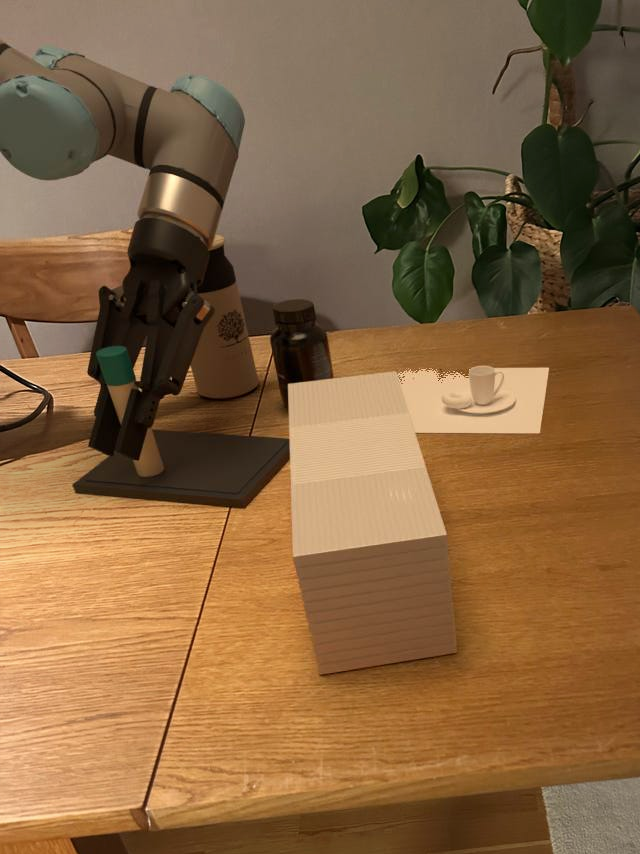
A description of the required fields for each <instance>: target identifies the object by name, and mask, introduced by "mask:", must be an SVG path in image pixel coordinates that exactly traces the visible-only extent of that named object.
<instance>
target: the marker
mask: <svg viewBox="0 0 640 854" xmlns="http://www.w3.org/2000/svg"><path fill="white" fill-rule="evenodd" d="M96 356H97V359H98V362H99V364H100V367H101V370H102V373H103V376H104V379H105V382H106V384H107V386H108V389H109V392H110V395H111V398H112V401H113V404H114V407H115V410H116V413H117V415H118V418H119V421H120V424H122V420H123V417H124V413H125V409H126V406H127V402H128V399H129V395H130V391H131V389H137V390H139V391H141V389H140V388H138V387H137V386H135V384H134V381H137V376H136V373H135V371H134V368H133V367H132V364H131V360H130V357H129V354H128V351H127V348H126V347H124V346H111V347H106V348H103V349H101V350H99V351H97V353H96ZM152 429H153V428H152V427H151V428H148V430H147V433H146V437H145V440H144V444H143V448H142V451H141V455H140V458H139V461H137V460H133V462H134V465H135V468H136V471H137V474H138V475H139V476H142V477H150V476H154V475H157V474H159V473H161V472H162V471H163V470H164V466H163V463H162V460H161V456H160V453H159V450H158V447H157V444H156V441H155V438H154V434H153V431H152Z"/></svg>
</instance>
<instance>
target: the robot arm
mask: <svg viewBox="0 0 640 854" xmlns="http://www.w3.org/2000/svg"><path fill="white" fill-rule="evenodd" d="M245 124H246V118H245V114H244V110H243V108H242V106H241V104H240V102H239V100H238V99H237V98H236V97H235V96H234V95H233V93H232V92H231V91H229V90H228V89H227V88H226V87H225V86H223V85H222V84H221V83H219V82H217V81H215V80H213V79H211V78H209V77H207V76H203V75H198V76H195V75H193V74H183V75H181V76H180V77H177V79H176V80H175V82H174V84H173V86H172V87H171V88H170V90H169V91H167V90H165V89H163V88H161V87H156V86H154V85H149V84H147V83H145V82H143V81H140V80H138V79H135V78H133V77H131V76H129V75H126V74H124V73H121V72H120V71H117V70H115V69H112V68H110V67H108V66H105V65H103V64H101V63H98V62H96V61H94V60H91V59H89V58H88V57H87V58H86V56H85V55H84V54H81V53H79V52H71V51H68V50H66V49H62V48H60V47H57V46H54V45H50V44H46V45H42V46H39V47H38V48H37V49H36V52H35V54H34V55H33V56H32V58H31V57H30V56H28V55H26V54H25V53H23V52H21V51H19V50H17V49H16V48H14V47H12V46H11V45H9V44H8V43H7V42H5V41H4V40H2V39H0V153H1V155H2V156H3V157H4V159H5V160H6V161H7V162H8V163H9V164H10V165H11V166H12V167H14V169H16V170H17V171H18V172H21V173H22V174H24V175H26V176H27V177H31V178H33V179H36V180H40V181H57V180H58V181H59V180H62V179H67V178H69V177H74V176H77V175H79V174H82V173H83V172H84V171H85V170H87V169H89V168H90V166H91V165H92V164H94V163H95V162H97V161H100V160H101V159H103V158H105V157H107V156H111V157H113V158H115V159H119V160H121V161H124V162H127V163H129V164H132V165H135V166H137V167H139V168H142V169H145V170H149V173H148V176H147V180H146V184H145V186H144V189H143V193H142V196H141V199H140V202H139V207H138V209H137V217H138V220H136V221H135V223H134V225H133V229H132V232H131V236H130V240H129V243H128V246H127V257H128V260H129V265H130V266H129V270H128V272H127V274H126V275H125V277H123V280H122V282H121V283H122V284H121V285H119V286H116V287H115V288H112V289H110V288H109V287H108V286H106V285H102V286H101V287H100V288H99V289H98V299H99V300H98V302H99V310H98V314H97V315H98V316H97V319H96V320H97V321H96V326H95V331H94V336H93V341H92V346H91V351H90V356H89V361H88V365H87V372H86V373H87V376H89V377H90V378H91V379H93V380H95V381H96V382H98V383H99V385H100V386H99V387H100V388H99V391H98V395H97V398H96V402H95V406H94V409H93V416H94V417H95V419H94V423H93V426H92V430H91V433H90V437H89V441H88V444H87V447H88V448H90V449H93V450H94V451H97V452H99V453H101V454H104V455H106V456H107V457H108V456H113V454H114V452H115V451H116V452H118V453H120V454H122V455H124V456H126V457H128V458H130V459H132V460H137V461H139V458H140V455H141V451H142V448H143V444H144V440H145V437H146V433H147V430H148V428H152V427H153V425H154V424H155V419H156V417H157V414H158V413H157V412H158V410H159V405H160V402H161V400H163V399H164V398H165V397H166V396H169V395H173V396H178V395H179V394H180V393H181V392H182V390H183V387H184V384H185V381H186V379H187V375H188V373H189V370H190V368H191V366H190V365H191V362H192V359H193V356H194V354H195V351H196V348H197V346H198V343H199V340H200V337H201V335H202V332H203V329H204V327H205V326H206V324H207V323H208V322H209V320H210V319H211V317H212V316H213V315H214V313H215V308H214V307H213V306H212V305H210V304H209V303H208V302H207V301H206V300H204V299H203V298H202V297H201V296H200V295H198V294H197V287H199V286H200V285H201V284H202V282H203V279H204V275H205V272H206V268H207V265H208V261H209V257H210V253H209V251H208V249H210V248H211V247H212V244H213V241H214V237H215V235H217V230H218V227H219V223H220V219H221V217H222V212H223V209H224V206H225V202H226V198H227V195H228V192H229V188H230V185H231V181H232V178H233V175H234V171H235V167H236V164H237V161H238V160H239V151H240V147H241V143H242V142H241V141H242V137H243V132H244V128H245ZM145 341H146V343H145ZM144 344H145V348H144V353H143V354H144V355H143V360H142V366H141V373H140V377H139V380H136V381H134V384H135V386H137V387H138V388H139V390H140V391H139V390H137V389H131V391H130V395H129V399H128V402H127V406H126V409H125V413H124V417H123V420H122V424H120V421H119V418H118V415H117V413H116V410H115V407H114V404H113V401H112V398H111V395H110V392H109V389H108V386H107V384H106V382H105V379H104V376H103V373H102V370H101V367H100V364H99V362H98V359H97V356H96V353H97V351H99V350H101V349H103V348H106V347H111V346H124V347H126V348H127V351H128V354H129V357H130V360H131V364H132V367H133V369H135V366H136V363H137V361H138V359H139V356H140V353H141V351H142V348H143V346H144Z"/></svg>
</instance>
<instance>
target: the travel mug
mask: <svg viewBox="0 0 640 854" xmlns="http://www.w3.org/2000/svg"><path fill="white" fill-rule="evenodd" d="M225 243H226V238H225V237H224V236H222V235H219V234H215V237H214V241H213V244H212V247H211V248H210V249H208V251H209V253H210V257H209V261H208V265H207V268H206V272H205V275H204V279H203V282H202V284H201V285H200V286H199V287H197V294H198V295H200V296H201V297H202V298H203V299H204V300H206V301H207V302H208V303H209V304H210V305H212V306H213V307H214V308H215V313H214V315H213V316H212V317H211V319H210V320H209V322H208V323H207V324H206V326H205V327H204V329H203V332H202V335H201V337H200V340H199V343H198V346H197V348H196V351H195V354H194V356H193V359H192V362H191V365H190V369H191V373H192V376H193V381H194V383H195V384H194V385H195V387H196V391H197V393H198V394H199V395H200V396H203V397H205V398H209V399H214V400H226V399H232V398H238V397H240V396H243V395H247V394H248V393H250V392H251V391H252V390H254V389H255V388H257V387H258V385H259V383H260V382H259V375H258V371H257V367H256V363H255V359H254V354H253V350H252V345H251V341H250V335H249V331H248V327H247V323H246V318H245V314H244V309H243V305H242V299H241V295H240V290H239V287H238V282H237V277H236V272H235V268H234V266H233V264H232V263H231V262H230V260H229V258H228V257H227V256H226V255H225Z"/></svg>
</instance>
